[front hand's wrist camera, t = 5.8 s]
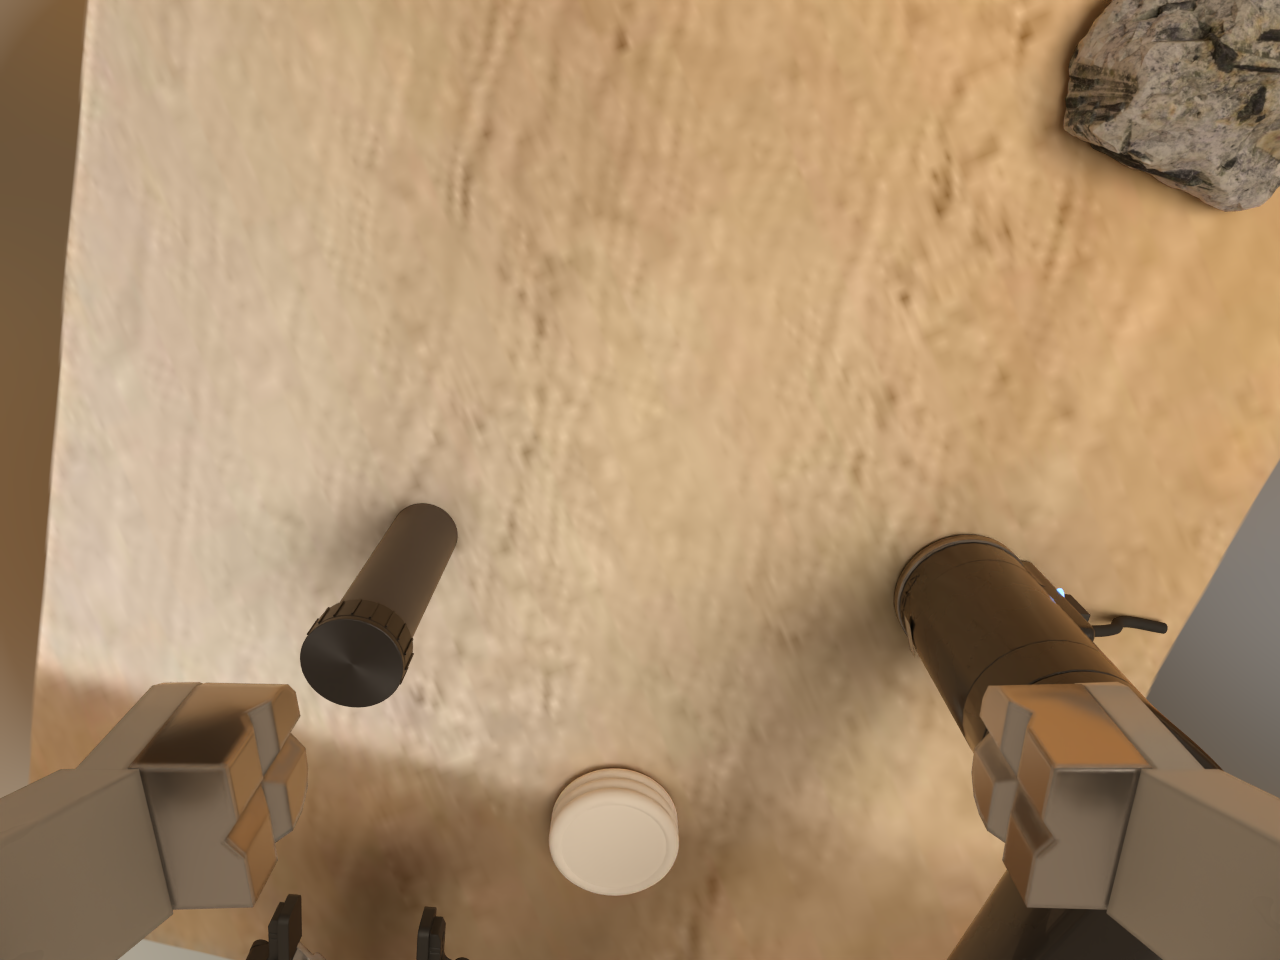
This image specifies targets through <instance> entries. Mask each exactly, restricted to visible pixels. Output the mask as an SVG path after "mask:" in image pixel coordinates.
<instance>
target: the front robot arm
mask: <svg viewBox="0 0 1280 960" xmlns="http://www.w3.org/2000/svg"><path fill="white" fill-rule="evenodd" d="M299 717H300V711H299V706H298V701H297V696H296V692H295V691H294V690H293V689H292V688H291V687H290V686H289V685H288V684H246V683H204V684H203V683H200V682H177V683H161V684H157V685H153V686H152V687H151V688H150V689H149V690H148V691H147V692H146V693H145V694H144V695H143V696H142V697H141V698H140V700H139V701H138V702H137V703H136V704H135V705H134V706H133V707H132V708H131V709H130V710H129V711H128V713H127V714H126V715H125V716H124V717H123V718H122V719H121V720H120V721H119V722H118V723H117V724H116V726H115V727H114V728H113V729H112V730H111V731H110V732H109V733H108V734H107V735H106V736H105V737H104V739H103V740H102V741H101V742H100V743H99V744H98V745H97V746H96V747H95V748H94V749H93V750H92V752H91V753H90V754H89V755H88V756H87V757H86V758H85V759H84V760H83V761H82V762H81V763H80V764H79V766H78V767H77V768H76V769H60V770H58V771H56V772H54V773H52V774H50V775H48V776H46V777H44V778H42V779H40V780H38V781H35V782H33V783H31V784H29V785H27V786H25V787H23V788H21V789H19V790H17V791H15V792H13V793H11V794H9V795H6V796H4V797H2V798H0V960H118V959H119V958H120V957H121V956H123V955H124V954H125V953H126V952H127V951H129V950H130V949H131V948H132V947H134V946H135V945H136V944H137V943H138V942H140V941H141V940H142V939H143V938H144V937H146V936H147V935H148V934H149V933H151V932H152V931H153V930H154V929H155V928H157V927H158V926H159V925H160V924H162V923H163V922H164V921H165V920H166V919H168V918H169V917H170V916H171V915H172V914H173V910H176V909H211V908H245V907H254V905H255V903H256V901H257V899H258V897H259V895H260V893H261V891H262V889H263V888H264V886H265V884H266V882H267V880H268V878H269V876H270V874H271V872H272V870H273V868H274V866H275V864H276V862H277V861H278V859H277V853H276V847H275V842H277V841H278V840H280V839H281V838H283V837H284V836H286V835H287V834H288V833H290V832H291V831H293V829H294V827H295V825H296V823H297V821H298V819H299V817H300V815H301V813H302V810H303V805H304V801H305V796H306V792H307V787H308V762H307V755H306V748H305V747H304V746H303V745H302V744H301V743H300V742H299V741H298V740H297V739H296V738H295V737H294V736H293V735H292V734H291V731H292V729H293V728H294V726H295V724H296V723H297V721H298V719H299ZM980 717H981V719H982V721H983V723H984V724H985V726H986V728H987V729H988V731H989V734H988V735H987V736H986V737H985V738H984V739H983V740H982V741H981V742H980V743H979V744H978V745H977V746H976V747H975V748H974V756H973V764H972V783H973V793H974V799H975V802H976V805H977V809H978V812H979V815H980V817H981V819H982V821H983V823H984V825H985V827H986V829H987V831H989V832H990V833H992V834H993V835H994V836H996V837H997V838H999V839H1000V840H1002V841H1003V842H1005V847H1004V853H1003V859H1002V861H1003V863H1004V864H1005V866H1006V868H1007V870H1008V872H1009V874H1010V876H1011V878H1012V880H1013V882H1014V884H1015V886H1016V887H1017V889H1018V891H1019V893H1020V895H1021V897H1022V899H1023V901H1024V903H1025V905H1026V907H1032V908H1068V909H1103V910H1107V914H1108V915H1109V916H1110V917H1112V918H1113V919H1114V920H1115V921H1116V922H1118V923H1119V924H1120V925H1121V926H1123V927H1124V928H1125V929H1126V930H1127V931H1129V932H1130V933H1131V934H1132V935H1133V936H1135V937H1136V938H1137V939H1138V940H1140V941H1141V942H1142V943H1143V944H1144V945H1146V946H1147V947H1148V948H1149V949H1150V950H1152V951H1153V952H1154V953H1155V954H1157V955H1158V956H1159V957H1160V958H1161V959H1163V960H1280V798H1278V797H1275V796H1273V795H1271V794H1269V793H1267V792H1265V791H1263V790H1261V789H1259V788H1257V787H1255V786H1253V785H1251V784H1249V783H1247V782H1244V781H1242V780H1240V779H1238V778H1236V777H1234V776H1232V775H1230V774H1228V773H1226V772H1224V771H1222V770H1220V769H1204V768H1203V767H1202V766H1201V765H1200V763H1199V762H1198V761H1197V760H1196V759H1195V758H1194V757H1193V756H1192V755H1191V754H1190V753H1189V752H1188V750H1187V749H1186V748H1185V747H1184V746H1183V745H1182V744H1181V743H1180V742H1179V741H1178V740H1177V739H1176V737H1175V736H1174V735H1173V734H1172V733H1171V732H1170V731H1169V730H1168V729H1167V728H1166V727H1165V725H1164V724H1163V723H1162V722H1161V721H1160V720H1159V719H1158V718H1157V717H1156V716H1155V715H1154V714H1153V712H1152V711H1151V710H1150V709H1149V708H1148V707H1147V706H1146V705H1145V704H1144V703H1143V702H1142V701H1141V699H1140V698H1139V697H1138V696H1137V695H1136V694H1135V693H1134V692H1133V691H1132V690H1131V689H1130V688H1129V687H1128V686H1126V685H1124V684H1121V683H1119V682H1098V683H1075V684H1047V685H998V686H988V688H987V690H986V692H985V694H984V696H983V699H982V705H981V711H980Z"/></svg>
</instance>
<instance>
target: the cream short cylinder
mask: <svg viewBox="0 0 1280 960" xmlns="http://www.w3.org/2000/svg"><path fill="white" fill-rule="evenodd" d="M549 848H550V852H551V856H552V859H553V861H554V863H555V865H556V867H557V868H558V869H559V871H560V872H561V873H562V874H563V875H564V876H565V877H566V878H567V879H568V880H569V881H570V882H572V883H573V884H575V885H576V886H578V887H580V888H582V889H584V890H587V891H590V892H593V893H597V894H602V895H615V896H617V895H627V894H632V893H636V892H639V891H642V890H644V889H647V888H649V887H651V886H653V885H654V884H656V883H657V882H659V881H660V880H661V879H662V878H663V877H664V876H665V875H666V874H667V873H668V872H669V870H670V869H671V867H672V866H673V864H674V862H675V860H676V857H677V853H678V849H679V836H678V817H677V812H676V808H675V806H674V803H673V801H672V799H671V798H670V796H669V794H668V793H667V792H666V791H665V789H664V788H663V787H662V786H661V785H660V784H659V783H657V782H656V781H654V780H653V779H652V778H650V777H648V776H646V775H644V774H641V773H639V772H636V771H632V770H628V769H619V768H610V769H601V770H596V771H593V772H590V773H587V774H585V775H583V776H581V777H579V778H577V779H575V780H574V781H573V782H571V783H570V784H569V785H568V786H567V787H566V788H565V789H564V790H563V791H562V792H561V794H560V795H559V797H558V799H557V800H556V802H555V805H554V807H553V811H552V820H551V825H550V833H549Z"/></svg>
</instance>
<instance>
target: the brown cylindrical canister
mask: <svg viewBox="0 0 1280 960" xmlns="http://www.w3.org/2000/svg"><path fill="white" fill-rule="evenodd" d="M457 537H458V536H457V528H456V525H455V523H454V521H453V520H452V518H451V517H450V516H449V515H448V514H447V513H446V512H445V511H444V510H442V509H441V508H439V507H436V506H434V505H430V504H415V505H411V506H409V507H407V508H405V509H404V510H402V511H401V512H400V513H399V514H398V516H397V517H396V519H395V520H394V522H393V523H392V525H391V526H390V528H389V529H388V531H387V532H386V534H385V535H384V537H383V538H382V540H381V541H380V543H379V544H378V546H377V547H376V549H375V550H374V552H373V553H372V555H371V556H370V558H369V559H368V561H367V562H366V564H365V565H364V567H363V568H362V570H361V571H360V573H359V574H358V576H357V577H356V579H355V580H354V582H353V583H352V585H351V586H350V588H349V589H348V591H347V592H346V594H345V595H344V597H343V598H342V600H341V601H340V602H342V601H343V600H344V601H347V600H354V599H363V600H370V601H374V602H379V603H380V604H382V605H385V606H386V607H388V608H390V609H391V610H393V611H395V613H396V614H398V615H399V616H400V617H401V619H402V620H403V621H404V622H405V623H406V624H407V627H408V629H409V631H410V634H411V637H412V638H413V636H414V633H415V631H416V629H417V627H418V625H419V623H420V621H421V618H422V616H423V614H424V612H425V610H426V608H427V606H428V604H429V601H430V599H431V597H432V595H433V593H434V591H435V589H436V586H437V584H438V582H439V580H440V578H441V576H442V574H443V571H444V569H445V567H446V565H447V563H448V561H449V559H450V556H451V554H452V552H453V550H454V548H455V546H456V543H457Z"/></svg>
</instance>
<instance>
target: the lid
mask: <svg viewBox="0 0 1280 960" xmlns="http://www.w3.org/2000/svg"><path fill="white" fill-rule="evenodd" d="M307 635H308V636H307V637H306V639H305V641H304V643H303V645H302V648H301V653H300V662H301V668H302V671H303V674H304V676H305V678H306V680H307V681H308V683H309V684H310V685H311V687H312V688H313V689H314V690H315V691H316V692H317V693H319V694H320V695H321V696H323V697H324V698H326V699H327V700H329V701H331V702H334V703H336V704H339V705H343V706H348V707H367V706H372V705H375V704H378V703H380V702H382V701H384V700H385V699H387V698H388V697H390V696H391V695H392V694H393V693H394V692H395V691H396V689H397V688H398V686H399V684H400V685H401V683H402V681H403V678H404V676H405V674H406V672H407V670H408V666H409V664H410V661H411V659H412V657H413V655H414V653H412V652H413V642H412V641H413V638H412V637H411V634H410V631H409V629H408V627H407V624H406V623H405V622H404V621H403V620H402V619H401V617H400V616H399V615H398V614H396V613H395V611H393V610H391V609H390V608H388V607H386V606H385V605H382V604H380V603H379V602H374V601H370V600H363V599H354V600H347V601H344V600H343V601H342V602H340V603H338V604H336V605H334V606H332V607H330V608H329V607H328V608H327V609H326V611H325V612H324V613H323V614H322V616H321V617H320V618H319V619H317V620H316V621H315V623H314V624H313V626H312V627H311V629H310V630H309V632H308V633H307Z"/></svg>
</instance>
